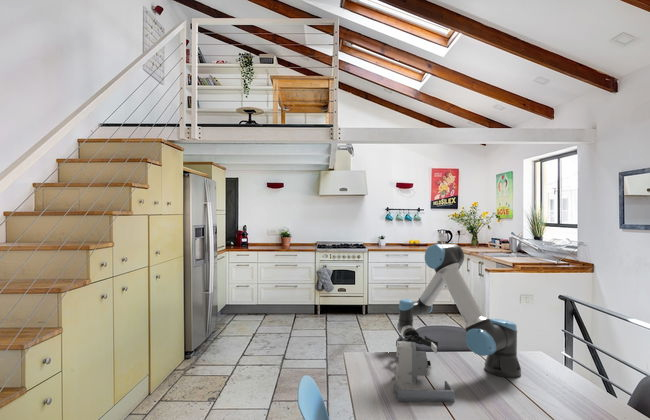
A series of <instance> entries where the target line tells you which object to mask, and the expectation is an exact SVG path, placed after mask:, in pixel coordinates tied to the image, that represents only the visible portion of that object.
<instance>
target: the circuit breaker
mask: <svg viewBox="0 0 650 420" xmlns="http://www.w3.org/2000/svg"><path fill="white" fill-rule="evenodd" d="M396 341H397V340H396ZM395 355H396V357H398V363H397V364H396V368H395V369H396V370H395V373H396V374H395V376H396V377H395V383H400V384H401V383H402V384H412V385H416V384H417V376H421V377H422V376H424V377H428V375H427V374H428V367H431V366H432V363H431V360H428V357H427V352H426V351H423V350H422V351H420V350H417V344H416V343H415V342H405V341H397V346H396V354H395Z"/></svg>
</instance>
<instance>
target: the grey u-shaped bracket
mask: <svg viewBox="0 0 650 420" xmlns="http://www.w3.org/2000/svg"><path fill="white" fill-rule="evenodd" d="M392 392H393V394H394V396H395V399H396V401H397V403H455V390H454V389H453V388H452V386H451V385H450V384H449V383H448V381H447V380H444V389H399V388H398V385H397V382H396V380H392Z"/></svg>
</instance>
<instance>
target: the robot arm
mask: <svg viewBox="0 0 650 420" xmlns="http://www.w3.org/2000/svg"><path fill="white" fill-rule="evenodd" d="M424 261H425V264H426V266H427V267H429V269H433V270H434V271H435V274H434V275H433V277H432V278H431V279H430V282H429V283H428V285H427V286H426V287H425V289H424V291H423V292H422V294H421V296H420V297H419V298H418V300H417V301H413V300H412V299H408V298H402V299H400V300H399V303H398V322H397V324H396V327H397V330H398V333H400V334H399V336H398V338H397V340H395V347H397V341H405V342H415V343H416V345H424V346H427V347H430V348H431V350H432V351H433V352H434V353H435V354H437V353H438V348H439V341H437V340H434V339H432V338H430V337H428V336H427V335H423V336H421V335H419V332H418V331H417V330H416V328H414V317H418V316H423V315H427V314H431V312H432V311H433V304H434V303H435V302H436V299H438V297H439V295H440V294H441V293H442V291H443V290H444V288H445V287H446V288H447V290H448V291H449V294H450V296H451V297H452V299H453V302H454V303H455V305H456V307H457V309H458V312H459V313H460V315H461V317H462V319H463V321H464V322H465V326H464V330H465V332H466V334H465V343H466V345H467V347H468V348H469V351H471V352H473V354H475V355H478V356H481V357H485V356H486V359H485V361H484V369H485V371H486V372H488V373H489V374H491V375H494V376H498V377H502V378H518V377H520V376H521V375H522V369H521V365H520V362H519V359H518V356H517V351H518V344H517V343H518V328H517V327H518V326H517V324H516V323H515V322H513V321H510V320H505V319H502V318H501V319H500V318H489V317H486V316H484V314H483V312H482V310H481V309H480V306H479V304H478V303H477V301H476V299H475V297H474V295H473V293H472V292H471V289H470V288H469V286H468V284H467V283H466V281H465V279H464V276H462V274H461V272H460V268H461V267H462V265H463V263H464V261H465V252H464V250H463V248H462V247H461V246H460V245H458V244H456V243H435V244H432V245H429V246H428V247H427V248H426V249H425V254H424Z"/></svg>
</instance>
